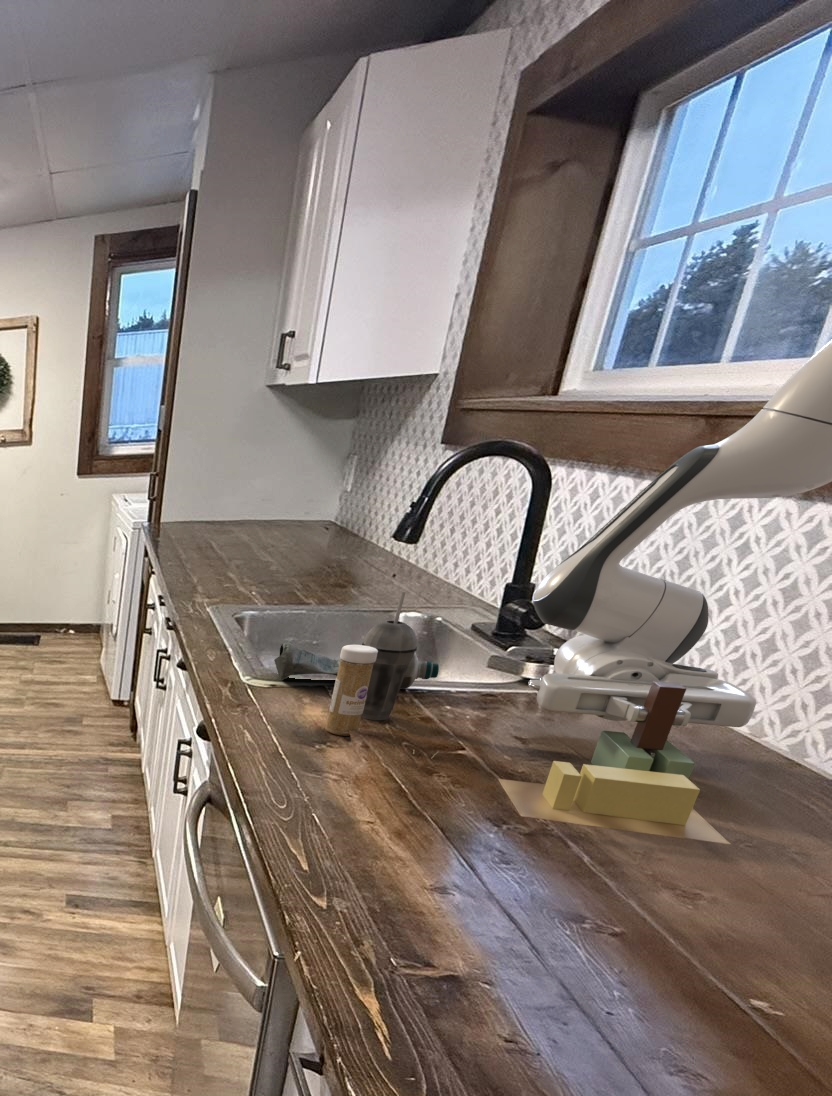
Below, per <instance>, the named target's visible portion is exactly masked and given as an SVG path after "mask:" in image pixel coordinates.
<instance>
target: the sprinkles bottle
mask: <svg viewBox="0 0 832 1096" xmlns="http://www.w3.org/2000/svg"><path fill="white" fill-rule="evenodd" d="M377 653H378V650H377V649H376V648H373V647H370V646H364V645H362V644H347V645H343V646H342V648H341V650H340V655H339V660H340V665H339V671H338V675H337V676H336V678H335V682H334V686H333V690H332V696H331V698H330V704H329V712H328V717H327V721H326V724H325V726H324V729H325V731H326V732H328V733H330V734H333V735H336V736H344V737H345V736H346V737H349V736H351V734H350V731H357V732H359V730H360V724H361V720H362V717H361V716H362V713H363V710H364V706H365V701H366V697H367V690H368V686H369V682H370V677H371V673H372V668H373V665H374V662H375V661H376V658H377Z"/></svg>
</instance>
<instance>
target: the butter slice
mask: <svg viewBox="0 0 832 1096" xmlns="http://www.w3.org/2000/svg"><path fill="white" fill-rule="evenodd" d="M581 777H582V776H581V775H580V772H579V771H578V770H577V769H576V767H574V765H573V764H572V763H571V762H567V761H559V760H553V761H552V764H551V767H550V770H549V773H548V776H547V779H546V782H545V784H546V785H545V787H544V790H543V793H542V794H543V796H544V797H545V799H546V800H547V801H548V803H549V804H550V806H551V807H552V808H553V809H561V810H568V811H569V810H570V808H571V805H572V802H573V799H574V797H575V794H576V791H577V788H578V785H579V782H580V780H581Z"/></svg>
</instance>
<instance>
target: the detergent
mask: <svg viewBox="0 0 832 1096" xmlns="http://www.w3.org/2000/svg"><path fill="white" fill-rule="evenodd" d="M340 660H341V659H335V658H334V659H333V658H329V657H328V656H325V655H321V654H317V653H315V652H312V651H310V650H307V649H303V648H298V647H297V646H295V645H294V644H293V643H291V642H289V641H288V642H287V641H286V642H283V643H282V644H281V645H280V647H279V655H278V656H277V657H276V658H274V660H273V661H274V665H275V667H276V671H277V674H278V677H279V679H280V680H281V681H283V680H286V679H287V678H289V677H290V676H298V675H299V676H300V675H330V676H331V675H332V676H336V677H337V675H338V671H339V665H340ZM439 665H440V664H439V663H437V662H436V663H434V662H432V661H430V660H429V661H427V660H425V661H420V660H419V659H418V655H417V654H416V652H415V653H414V656H413V658H412V660H411V662H410V663H409V665H408V668H407V670H406V673H405V676H404V679H403V682H402V684H401V687H400V690H401V689H402V690H404V689H409V688H410V687H412V685H413V684H414V683H415V681H416V680H418V679H421V680H430V679H436V678H438V675H439V673H440V671H439V670H440V666H439Z"/></svg>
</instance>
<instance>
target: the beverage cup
mask: <svg viewBox="0 0 832 1096" xmlns="http://www.w3.org/2000/svg"><path fill="white" fill-rule="evenodd" d="M406 593H407V592H406V591H401V593H400V597H399V601H398V605H397V609H396V612H395V615H394V620H386V621H382V622H380V623H378V624H375V625H374V626H373V627H372V628H371V629H369V631H368V632H367V633H366V635H365V637H364V639H363V641H362V644H361V645H364V646H370V647H373V648H376V649H377V650H378V653H377V658H376V661H375V662H374V665H373V668H372V673H371V677H370V682H369V686H368V690H367V697H366V701H365V706H364V710H363V713H362V716H361V719H366V720H370V721H386V720H389V719H390V715H391V713H392V712H393V709H394V707H395V704H396V701H397V698H398V695H399V693H400V690H401V688H400V687H401V684H402V682H403V679H404V676H405V673H406V670H407V668H408V665H409V663H410V662H411V660H412V658H413V656H414V653H415V654H416V652H417V650H418V646H417V644H418V639H417V635H416V632H415V630H414V629H413V628H412V627H411V626H410V625H409V624H407V623H405V622H403V621H400V620H399V618H400V615H401V611H402V607H403V604H404V600H405V597H406Z"/></svg>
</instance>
